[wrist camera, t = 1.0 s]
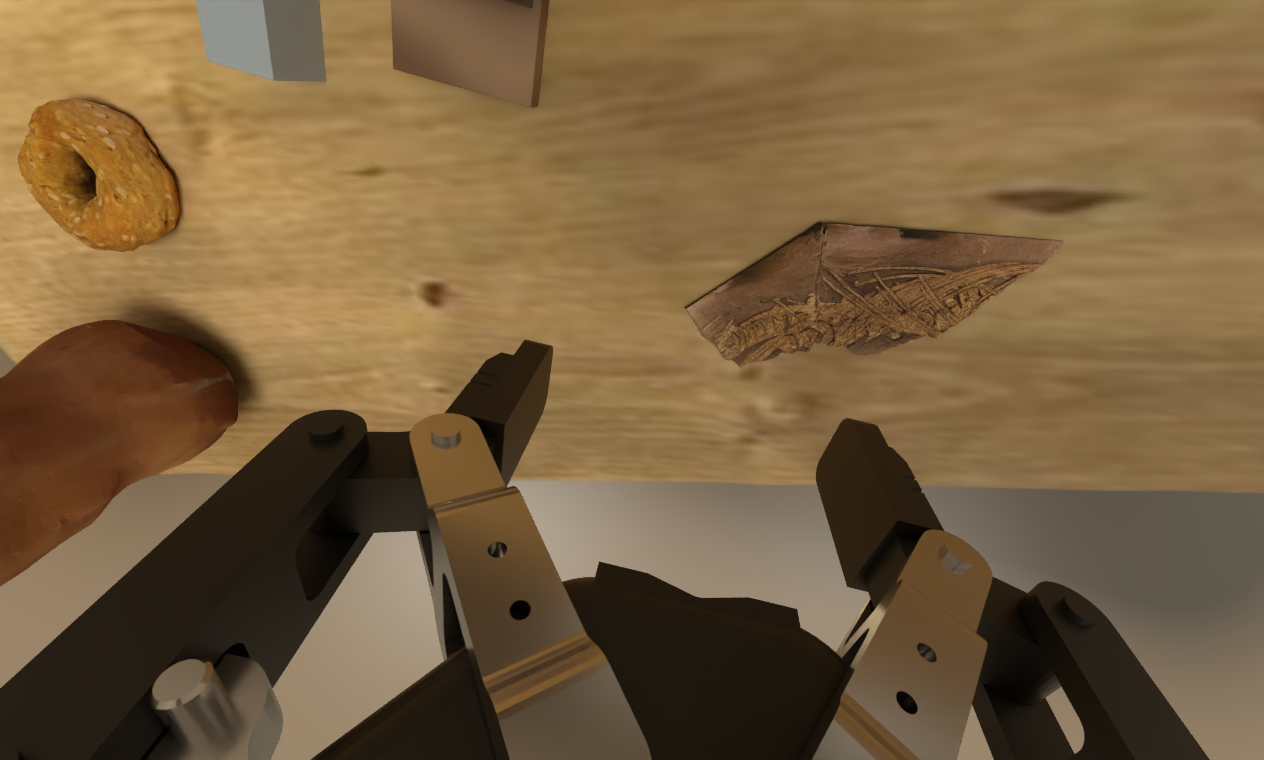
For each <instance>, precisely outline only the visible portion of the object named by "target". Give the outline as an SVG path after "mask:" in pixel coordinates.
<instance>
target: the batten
mask: <svg viewBox="0 0 1264 760" xmlns="http://www.w3.org/2000/svg"><path fill="white" fill-rule="evenodd" d="M196 4H197V9H198V14H199V19H200V24H201V29H202V34H203V40H204V45H205V50H206V55H207V60H208V61H210V62H213V63H216V64H220V65H223V66H227V67H230V68H233V69H237V70H240V71H244V72H247V73H250V74H254V75H257V76H260V77H264V78H267V79H271V80H277V81H319V82H326V73H325V61H324V50H323V38H322V26H321V15H320V3H319V0H196Z"/></svg>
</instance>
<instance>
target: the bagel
mask: <svg viewBox="0 0 1264 760" xmlns="http://www.w3.org/2000/svg"><path fill="white" fill-rule="evenodd" d="M28 126H29V127H30V128H31V130H30V131H29V132H28V135H27V136H26V139H25V142H24V145H23V146H22V148H20V153H19V155H18V163H19V168H20V171H21V175H22V176H23V177H24V179H25V181H26V183H27V184H28V187H29V190H30V192H31V193H32V195H33V196H34V197H35V199H36V200H37V201H38V202H39V204H40V205H41V206H42V208H43V209H44V210H45V211H46V212H48V213H49V214H50V215H51V217H52V218H53V219H54V220H55V221H56V222H57V223H58V224H59V225H60V227H61V228H62V229H63V230H65V231H66V232H67V233H69V234H70V235H71V236H72V237H74V238H76V239H78V240H80V241H82V242H83V243H84V244H86V245H87V246H89V247H91V248H94V249H96V250H112V251H119V252H126V251H134V250H135V249H136V248H137V247H139V246H141V245H146V244H151V243H153V242H155V241H156V240H157V239H159V238H160V237H162V236H164V235H166V234H167V233H168V232H170V231H172V230H173V229H174V228H175V224H176V221H177V219H178V216H179V209H180V207H179V202H178V192H177V187H176V185H175V183H174V179H173V177H172V175H171V173H170V172H169V171H168V169H167V168H166V167H165V166H164V165H163V163H162V162H161V160H160V159H159V157H158V154H157V151H156V149H155V148H154V147H153V146H152V144H151V143H150V141H149V140H148V139H147V138H146V137H145V135H144V131H143V129H142V127H141V126H140V125H139V124H138V123H137V122H136V121H134V120H133V119H131V118H129V117H128V116H126V115H124V114H122V113H120V112H118V111H115V110H112V109H110V108H109V107H107V106H105V105H100V104H97V103H94V102H90V101H88V100H83V99H68V100H58V101H54V100H52V101H49V102H47V103H46V104H45V105H43V106H38V107H36V108H35V109H34V111H33V113H32V118H31V121H30V122H29V124H28Z"/></svg>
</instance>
